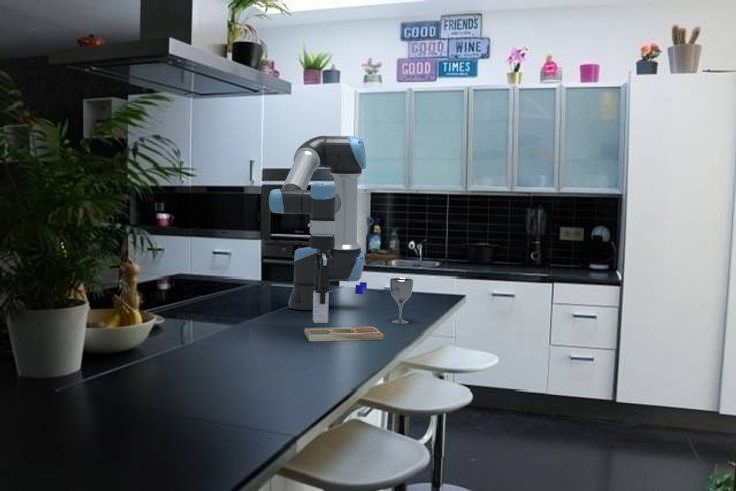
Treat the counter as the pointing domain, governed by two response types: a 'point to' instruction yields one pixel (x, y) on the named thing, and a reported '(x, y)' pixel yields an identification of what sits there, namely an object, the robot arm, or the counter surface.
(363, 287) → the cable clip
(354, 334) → the hole rail
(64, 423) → the counter surface
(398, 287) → the wine glass
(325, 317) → the steel peg
